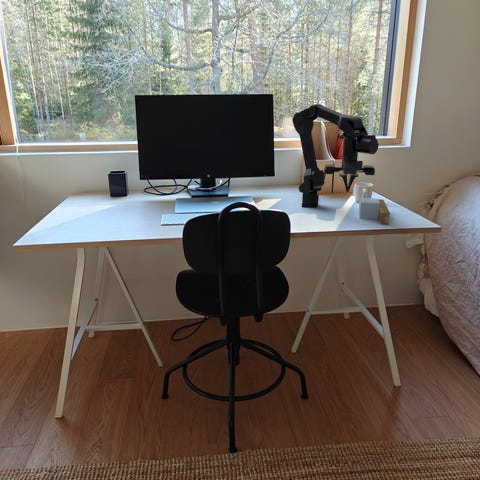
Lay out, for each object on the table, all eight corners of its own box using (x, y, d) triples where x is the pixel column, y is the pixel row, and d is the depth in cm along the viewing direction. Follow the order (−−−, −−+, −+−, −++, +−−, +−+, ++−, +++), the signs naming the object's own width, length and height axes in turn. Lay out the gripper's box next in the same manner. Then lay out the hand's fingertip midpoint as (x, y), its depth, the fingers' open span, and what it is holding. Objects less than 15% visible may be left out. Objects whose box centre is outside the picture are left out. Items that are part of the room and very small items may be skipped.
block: (359, 218, 167) (361, 202, 164) (358, 213, 173) (359, 198, 171) (378, 219, 165) (379, 203, 163) (376, 214, 172) (377, 198, 169)
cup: (373, 206, 182) (375, 188, 180) (354, 205, 184) (355, 187, 181) (371, 200, 192) (372, 182, 189) (353, 199, 194) (354, 182, 191)
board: (380, 224, 159) (381, 212, 158) (374, 209, 178) (375, 199, 176) (388, 224, 159) (390, 213, 157) (382, 209, 177) (383, 199, 176)
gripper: (325, 154, 156) (323, 195, 161) (378, 155, 153) (374, 197, 158) (325, 150, 166) (323, 189, 172) (375, 150, 163) (371, 190, 168)
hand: (347, 191), depth 167 cm, fingers closed
